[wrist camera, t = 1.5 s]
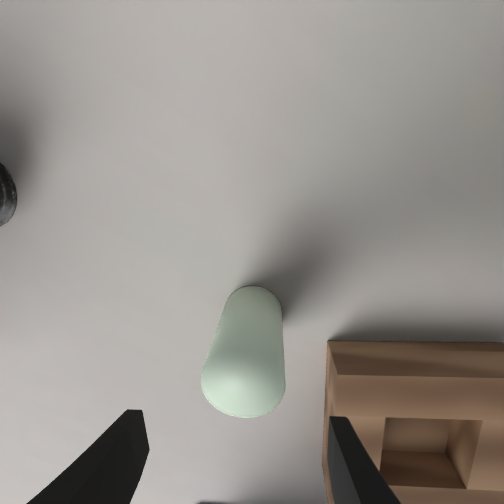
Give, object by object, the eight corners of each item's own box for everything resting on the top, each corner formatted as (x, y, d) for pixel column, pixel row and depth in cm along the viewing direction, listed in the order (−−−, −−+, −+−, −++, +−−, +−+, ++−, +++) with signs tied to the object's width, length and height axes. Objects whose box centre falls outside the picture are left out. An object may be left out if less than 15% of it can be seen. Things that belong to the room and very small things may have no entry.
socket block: (472, 471, 23) (506, 524, 19) (322, 465, 24) (330, 514, 20) (502, 342, 20) (549, 379, 16) (327, 340, 20) (337, 374, 17)
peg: (281, 337, 21) (285, 419, 14) (226, 337, 21) (204, 416, 14) (281, 285, 20) (285, 347, 13) (222, 286, 20) (196, 346, 13)
